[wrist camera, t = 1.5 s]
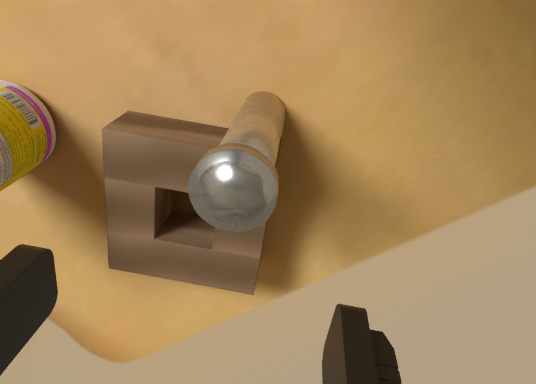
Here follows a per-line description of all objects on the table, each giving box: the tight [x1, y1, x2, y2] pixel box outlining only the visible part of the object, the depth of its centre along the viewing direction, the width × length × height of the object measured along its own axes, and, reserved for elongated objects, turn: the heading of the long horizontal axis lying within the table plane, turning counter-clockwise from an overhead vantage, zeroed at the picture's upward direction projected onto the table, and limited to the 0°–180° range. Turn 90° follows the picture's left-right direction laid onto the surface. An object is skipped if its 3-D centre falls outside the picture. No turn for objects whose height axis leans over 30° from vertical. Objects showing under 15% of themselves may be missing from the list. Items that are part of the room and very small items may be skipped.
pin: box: [188, 92, 285, 232], centre depth 22 cm, size 4×4×12 cm
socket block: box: [102, 111, 281, 295], centre depth 29 cm, size 11×11×4 cm
